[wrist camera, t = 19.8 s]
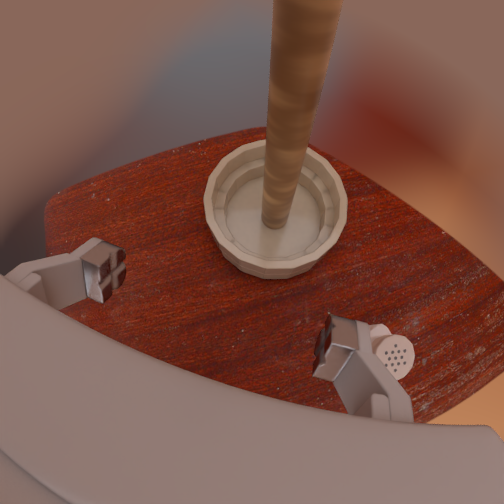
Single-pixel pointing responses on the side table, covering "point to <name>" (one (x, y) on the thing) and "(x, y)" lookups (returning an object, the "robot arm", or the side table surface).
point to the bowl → (250, 208)
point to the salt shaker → (392, 350)
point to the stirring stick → (294, 95)
